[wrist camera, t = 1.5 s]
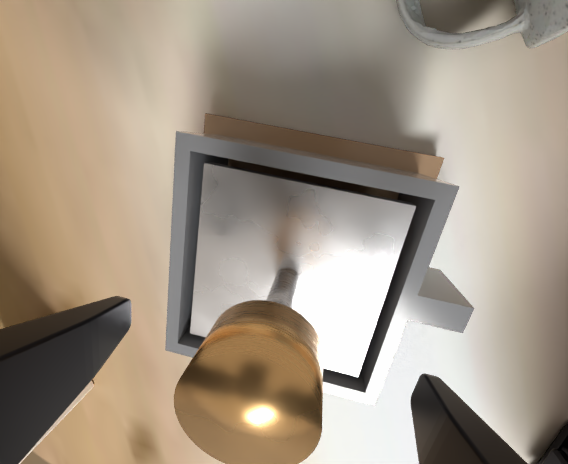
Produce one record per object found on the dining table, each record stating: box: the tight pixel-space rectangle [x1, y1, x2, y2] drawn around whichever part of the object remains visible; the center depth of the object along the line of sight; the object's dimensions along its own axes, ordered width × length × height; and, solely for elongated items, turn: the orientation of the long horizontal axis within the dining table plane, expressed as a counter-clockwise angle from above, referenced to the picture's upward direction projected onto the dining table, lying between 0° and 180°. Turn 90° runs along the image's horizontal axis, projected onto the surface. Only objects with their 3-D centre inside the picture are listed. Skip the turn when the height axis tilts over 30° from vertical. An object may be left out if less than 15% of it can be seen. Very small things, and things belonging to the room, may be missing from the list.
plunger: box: [174, 162, 416, 464], centre depth 9 cm, size 8×8×7 cm
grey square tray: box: [165, 113, 474, 406], centre depth 14 cm, size 14×12×6 cm
